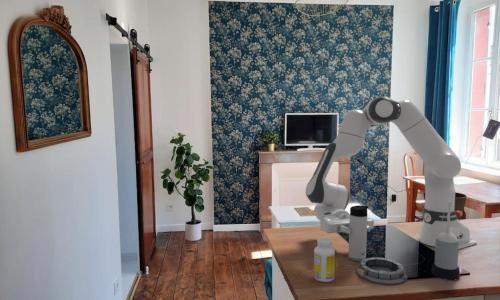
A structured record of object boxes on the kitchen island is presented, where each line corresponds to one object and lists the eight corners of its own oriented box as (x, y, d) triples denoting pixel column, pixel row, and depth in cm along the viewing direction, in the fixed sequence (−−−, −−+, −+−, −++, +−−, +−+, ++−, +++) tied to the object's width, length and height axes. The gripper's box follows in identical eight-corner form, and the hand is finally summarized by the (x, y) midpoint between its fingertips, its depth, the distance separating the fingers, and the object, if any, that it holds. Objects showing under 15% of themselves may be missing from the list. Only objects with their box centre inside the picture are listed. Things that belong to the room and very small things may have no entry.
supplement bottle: (335, 275, 124) (336, 238, 123) (333, 284, 118) (334, 244, 116) (315, 272, 126) (316, 236, 125) (312, 281, 120) (312, 242, 118)
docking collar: (386, 262, 135) (386, 254, 135) (418, 280, 120) (418, 271, 119) (347, 267, 130) (347, 259, 130) (376, 287, 115) (376, 278, 115)
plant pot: (430, 230, 172) (431, 196, 170) (428, 221, 185) (429, 190, 184) (467, 234, 166) (469, 199, 164) (462, 224, 180) (464, 192, 178)
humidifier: (463, 281, 120) (467, 205, 117) (436, 279, 121) (439, 204, 118) (454, 270, 128) (458, 199, 125) (428, 268, 129) (432, 198, 126)
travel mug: (367, 262, 134) (369, 208, 133) (348, 261, 136) (350, 207, 134) (365, 256, 141) (367, 204, 139) (347, 254, 142) (349, 203, 140)
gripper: (361, 225, 153) (383, 235, 140) (317, 230, 147) (335, 241, 134) (362, 210, 152) (383, 219, 139) (317, 214, 146) (335, 224, 133)
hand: (359, 230), depth 136 cm, fingers closed on travel mug, 6 cm apart
